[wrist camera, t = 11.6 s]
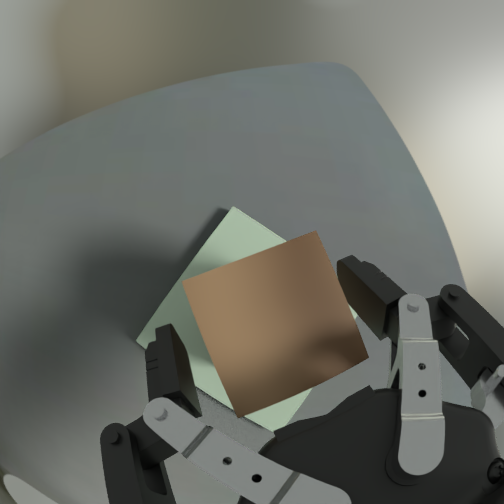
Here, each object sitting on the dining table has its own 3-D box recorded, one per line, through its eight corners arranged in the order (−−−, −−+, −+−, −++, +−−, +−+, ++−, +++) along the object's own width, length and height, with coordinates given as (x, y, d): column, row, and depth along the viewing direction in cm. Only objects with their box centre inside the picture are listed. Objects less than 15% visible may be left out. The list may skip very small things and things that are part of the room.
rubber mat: (139, 340, 19) (135, 340, 18) (233, 211, 22) (233, 206, 21) (276, 430, 18) (278, 434, 17) (361, 297, 21) (367, 296, 20)
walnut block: (234, 370, 18) (237, 418, 8) (207, 303, 19) (181, 281, 9) (302, 342, 19) (368, 357, 9) (275, 276, 20) (315, 230, 10)
